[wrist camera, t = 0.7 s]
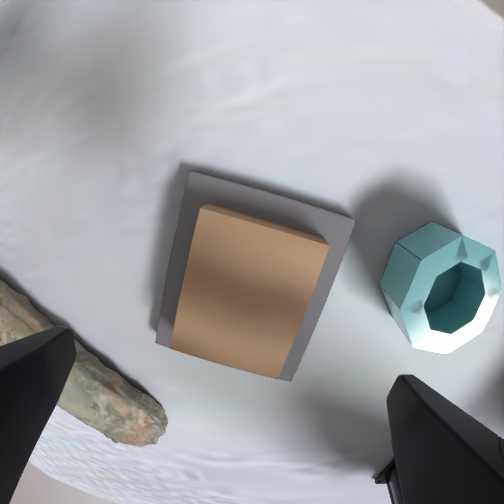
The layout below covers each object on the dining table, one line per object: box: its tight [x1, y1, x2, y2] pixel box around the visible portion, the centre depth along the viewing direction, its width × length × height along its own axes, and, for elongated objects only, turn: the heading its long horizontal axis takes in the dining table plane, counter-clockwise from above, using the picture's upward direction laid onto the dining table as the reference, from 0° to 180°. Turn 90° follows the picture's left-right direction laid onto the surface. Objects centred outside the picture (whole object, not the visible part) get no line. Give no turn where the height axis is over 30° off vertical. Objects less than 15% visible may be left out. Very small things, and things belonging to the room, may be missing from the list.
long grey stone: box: [0, 279, 168, 447], centre depth 22 cm, size 35×5×10 cm
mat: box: [155, 171, 356, 382], centre depth 20 cm, size 12×10×1 cm
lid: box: [170, 203, 330, 379], centre depth 18 cm, size 9×7×2 cm
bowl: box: [380, 222, 502, 354], centre depth 17 cm, size 7×7×4 cm
